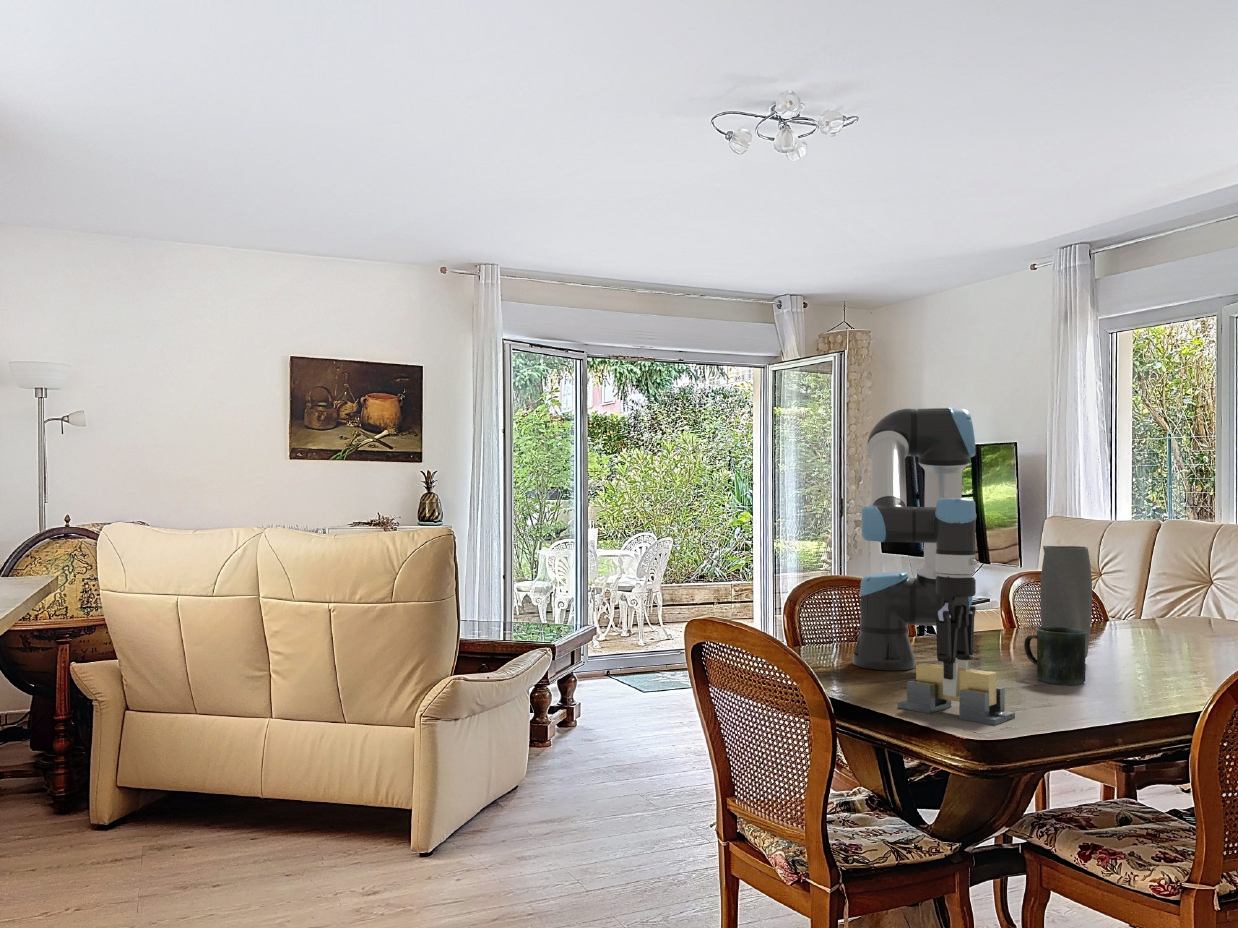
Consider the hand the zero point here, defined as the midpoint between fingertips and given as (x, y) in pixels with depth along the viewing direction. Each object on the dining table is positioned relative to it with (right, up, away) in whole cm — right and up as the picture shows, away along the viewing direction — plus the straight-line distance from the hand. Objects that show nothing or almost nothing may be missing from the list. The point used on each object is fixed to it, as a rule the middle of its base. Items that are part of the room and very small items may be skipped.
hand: (955, 693), depth 194 cm
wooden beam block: (0, -1, 0) cm, 1 cm away
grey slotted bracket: (-4, -4, +4) cm, 7 cm away
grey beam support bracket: (+4, -4, -4) cm, 7 cm away
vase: (+49, -6, +59) cm, 77 cm away
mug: (+35, -5, +35) cm, 50 cm away
